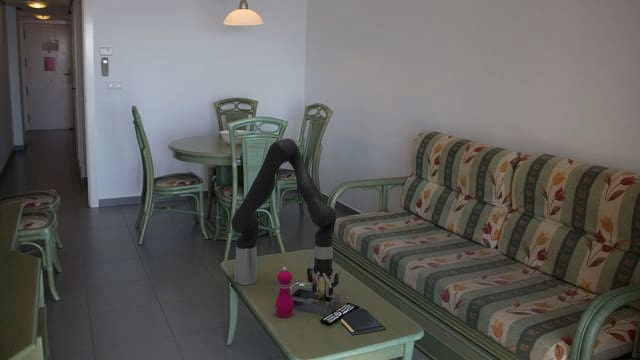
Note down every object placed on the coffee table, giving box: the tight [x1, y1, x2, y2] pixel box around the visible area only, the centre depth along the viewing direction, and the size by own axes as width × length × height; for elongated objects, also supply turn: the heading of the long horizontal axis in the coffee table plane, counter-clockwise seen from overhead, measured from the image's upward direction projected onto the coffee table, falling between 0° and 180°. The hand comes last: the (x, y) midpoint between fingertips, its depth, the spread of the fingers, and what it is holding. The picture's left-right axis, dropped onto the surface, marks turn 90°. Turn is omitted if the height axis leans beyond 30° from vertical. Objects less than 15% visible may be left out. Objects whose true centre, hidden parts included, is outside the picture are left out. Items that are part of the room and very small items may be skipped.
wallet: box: [340, 307, 387, 337], centre depth 221 cm, size 20×2×15 cm
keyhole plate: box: [290, 285, 341, 317], centre depth 234 cm, size 19×14×4 cm
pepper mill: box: [274, 266, 293, 319], centre depth 223 cm, size 7×7×20 cm
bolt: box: [317, 276, 329, 302], centre depth 232 cm, size 6×6×14 cm
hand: (322, 293), depth 232 cm, fingers open, 6 cm apart
